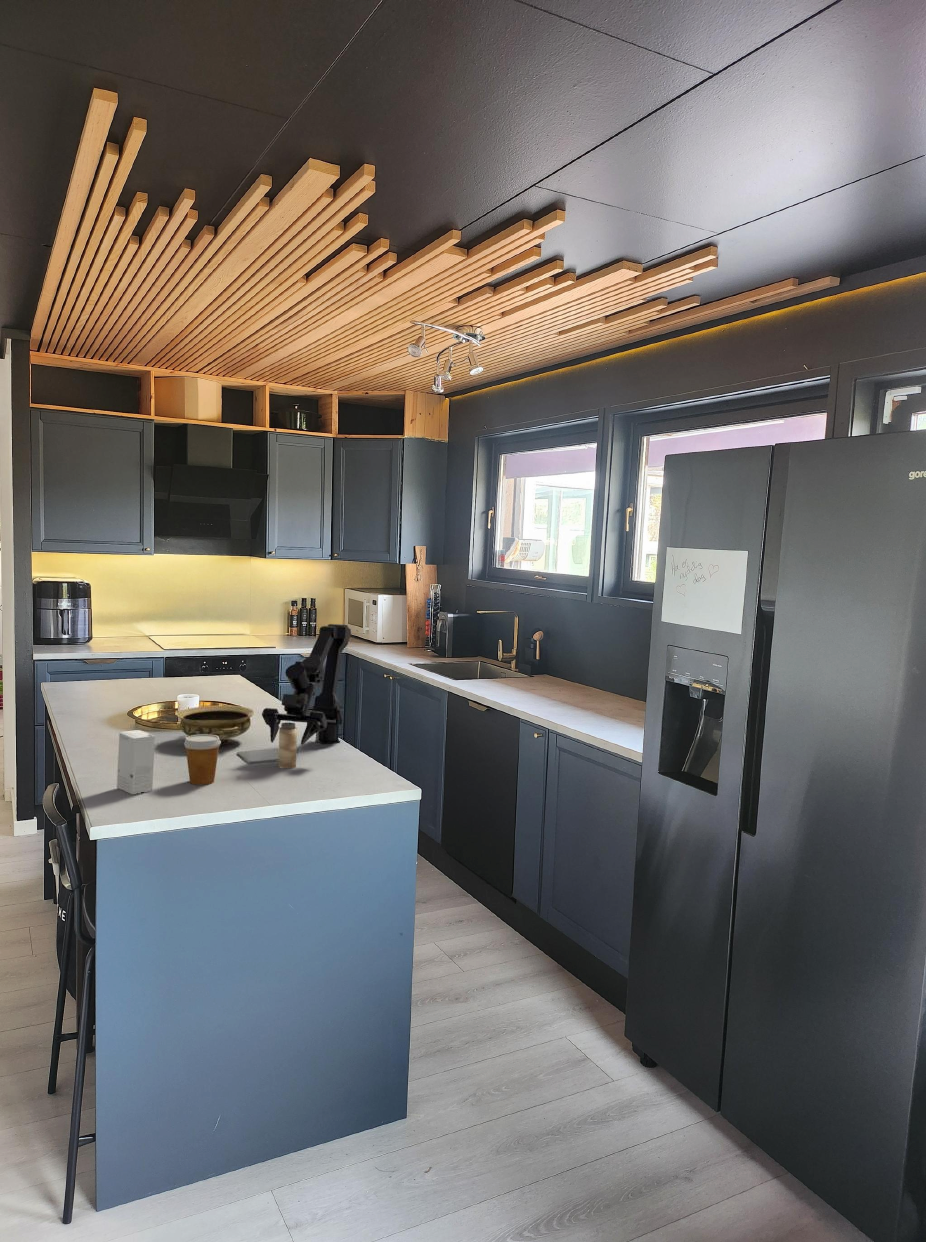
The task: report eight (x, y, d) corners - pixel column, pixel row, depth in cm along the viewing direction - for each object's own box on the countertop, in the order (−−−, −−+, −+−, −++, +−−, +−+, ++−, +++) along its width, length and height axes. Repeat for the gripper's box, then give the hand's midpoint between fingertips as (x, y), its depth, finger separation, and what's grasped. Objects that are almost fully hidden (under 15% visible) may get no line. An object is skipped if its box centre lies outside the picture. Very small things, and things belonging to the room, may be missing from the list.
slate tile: (278, 750, 263) (278, 748, 263) (291, 759, 252) (291, 757, 252) (237, 753, 256) (237, 751, 256) (248, 763, 245) (248, 761, 245)
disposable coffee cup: (227, 779, 228) (228, 736, 227) (206, 788, 219) (206, 743, 218) (198, 775, 231) (198, 732, 230) (175, 783, 222) (176, 739, 221)
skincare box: (116, 788, 216) (116, 731, 215) (138, 784, 221) (138, 728, 220) (132, 795, 211) (133, 737, 210) (155, 790, 216) (155, 734, 214)
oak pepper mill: (292, 763, 248) (293, 721, 247) (298, 767, 243) (299, 724, 242) (276, 764, 245) (277, 722, 244) (281, 768, 241) (282, 726, 240)
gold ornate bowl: (163, 737, 274) (163, 707, 273) (234, 730, 288) (234, 701, 288) (194, 757, 250) (194, 724, 249) (269, 748, 264) (270, 717, 264)
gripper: (264, 681, 248) (248, 724, 238) (325, 685, 245) (310, 729, 235) (274, 702, 257) (259, 746, 247) (333, 707, 254) (319, 751, 244)
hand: (286, 742), depth 243 cm, fingers open, 9 cm apart
